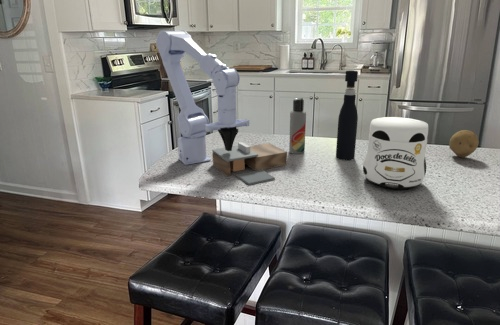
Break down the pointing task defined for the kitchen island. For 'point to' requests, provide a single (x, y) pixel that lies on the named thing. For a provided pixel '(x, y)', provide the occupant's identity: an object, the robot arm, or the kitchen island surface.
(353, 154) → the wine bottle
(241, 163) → the block
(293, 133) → the lotion bottle
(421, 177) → the doce de leite jar
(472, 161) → the kitchen island surface
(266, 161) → the wooden box
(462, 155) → the potato
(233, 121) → the robot arm
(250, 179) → the mat
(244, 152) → the slide cover
